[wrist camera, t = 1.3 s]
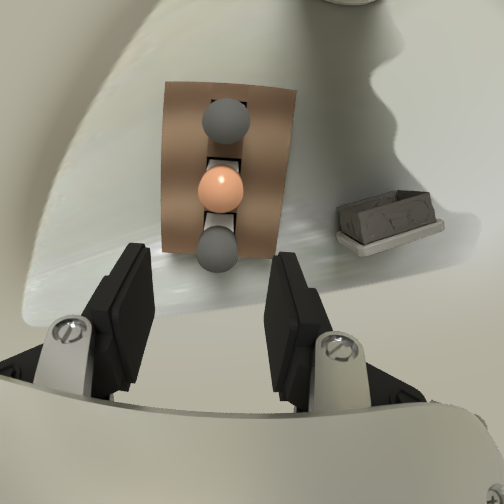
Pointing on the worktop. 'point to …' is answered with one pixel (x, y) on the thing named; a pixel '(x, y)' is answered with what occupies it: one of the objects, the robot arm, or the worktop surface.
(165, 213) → the wooden socket board
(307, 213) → the worktop surface
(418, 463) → the robot arm
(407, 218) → the electrical switch
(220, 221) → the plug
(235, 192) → the plug middle
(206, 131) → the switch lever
